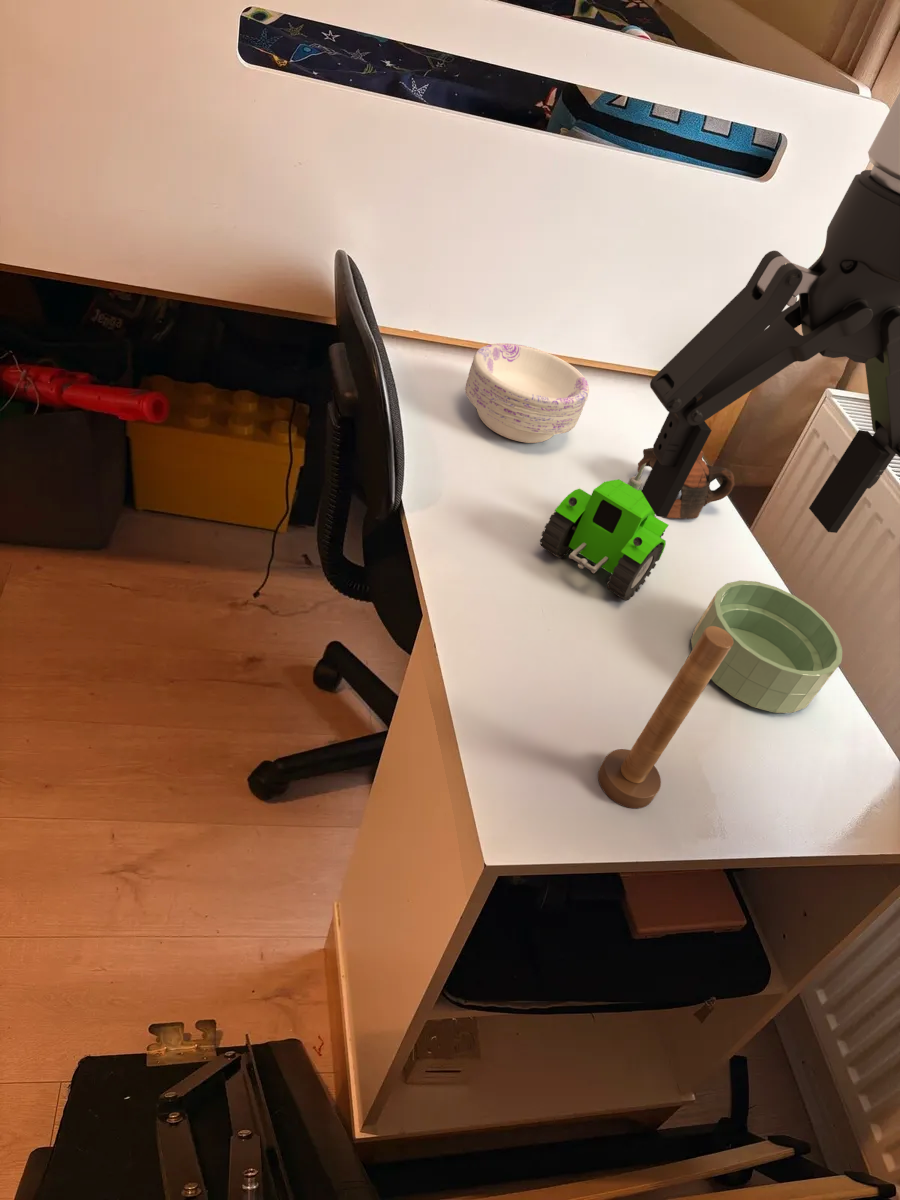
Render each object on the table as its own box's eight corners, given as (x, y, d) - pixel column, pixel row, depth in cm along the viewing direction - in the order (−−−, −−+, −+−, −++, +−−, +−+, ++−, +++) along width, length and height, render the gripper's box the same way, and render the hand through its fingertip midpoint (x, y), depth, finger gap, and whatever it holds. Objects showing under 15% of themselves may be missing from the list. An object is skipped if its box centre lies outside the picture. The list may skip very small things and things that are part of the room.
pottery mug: (640, 519, 109) (644, 450, 107) (626, 509, 118) (630, 445, 116) (740, 521, 108) (746, 452, 107) (718, 511, 118) (724, 447, 116)
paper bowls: (482, 381, 124) (499, 328, 119) (582, 425, 122) (603, 373, 117) (440, 422, 113) (456, 365, 108) (549, 472, 110) (572, 416, 105)
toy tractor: (673, 557, 104) (711, 486, 97) (612, 617, 92) (651, 542, 86) (594, 508, 107) (626, 437, 101) (525, 561, 95) (557, 484, 89)
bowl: (834, 717, 89) (867, 676, 86) (722, 716, 85) (752, 673, 81) (772, 624, 99) (800, 584, 95) (669, 619, 94) (693, 577, 90)
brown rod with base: (662, 807, 74) (764, 662, 63) (609, 809, 73) (704, 660, 62) (641, 759, 78) (733, 613, 67) (589, 760, 76) (675, 610, 65)
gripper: (1051, 210, 54) (858, 495, 67) (697, 115, 46) (557, 462, 59) (1146, 262, 49) (916, 560, 62) (765, 165, 40) (594, 533, 54)
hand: (740, 513), depth 60 cm, fingers open, 13 cm apart
